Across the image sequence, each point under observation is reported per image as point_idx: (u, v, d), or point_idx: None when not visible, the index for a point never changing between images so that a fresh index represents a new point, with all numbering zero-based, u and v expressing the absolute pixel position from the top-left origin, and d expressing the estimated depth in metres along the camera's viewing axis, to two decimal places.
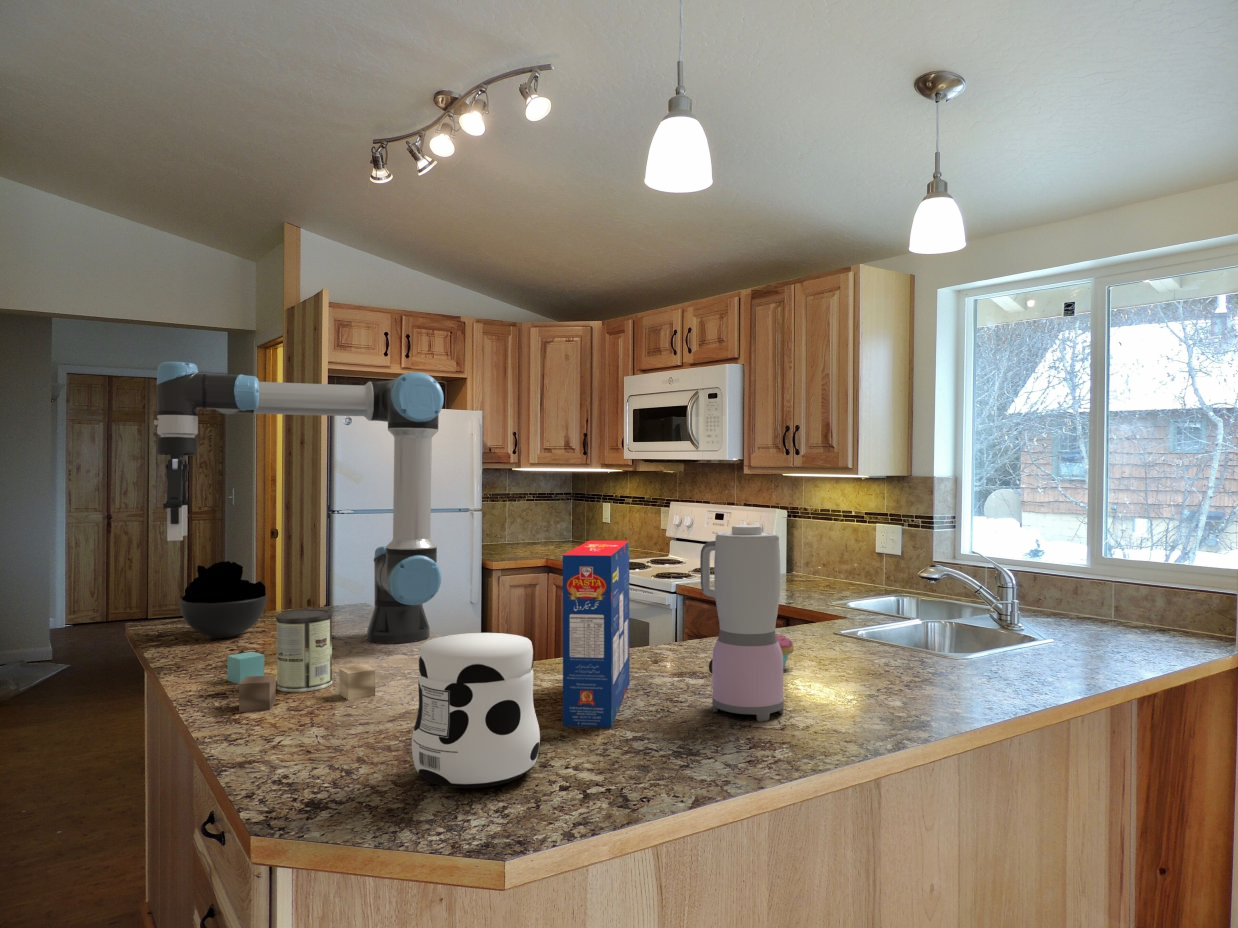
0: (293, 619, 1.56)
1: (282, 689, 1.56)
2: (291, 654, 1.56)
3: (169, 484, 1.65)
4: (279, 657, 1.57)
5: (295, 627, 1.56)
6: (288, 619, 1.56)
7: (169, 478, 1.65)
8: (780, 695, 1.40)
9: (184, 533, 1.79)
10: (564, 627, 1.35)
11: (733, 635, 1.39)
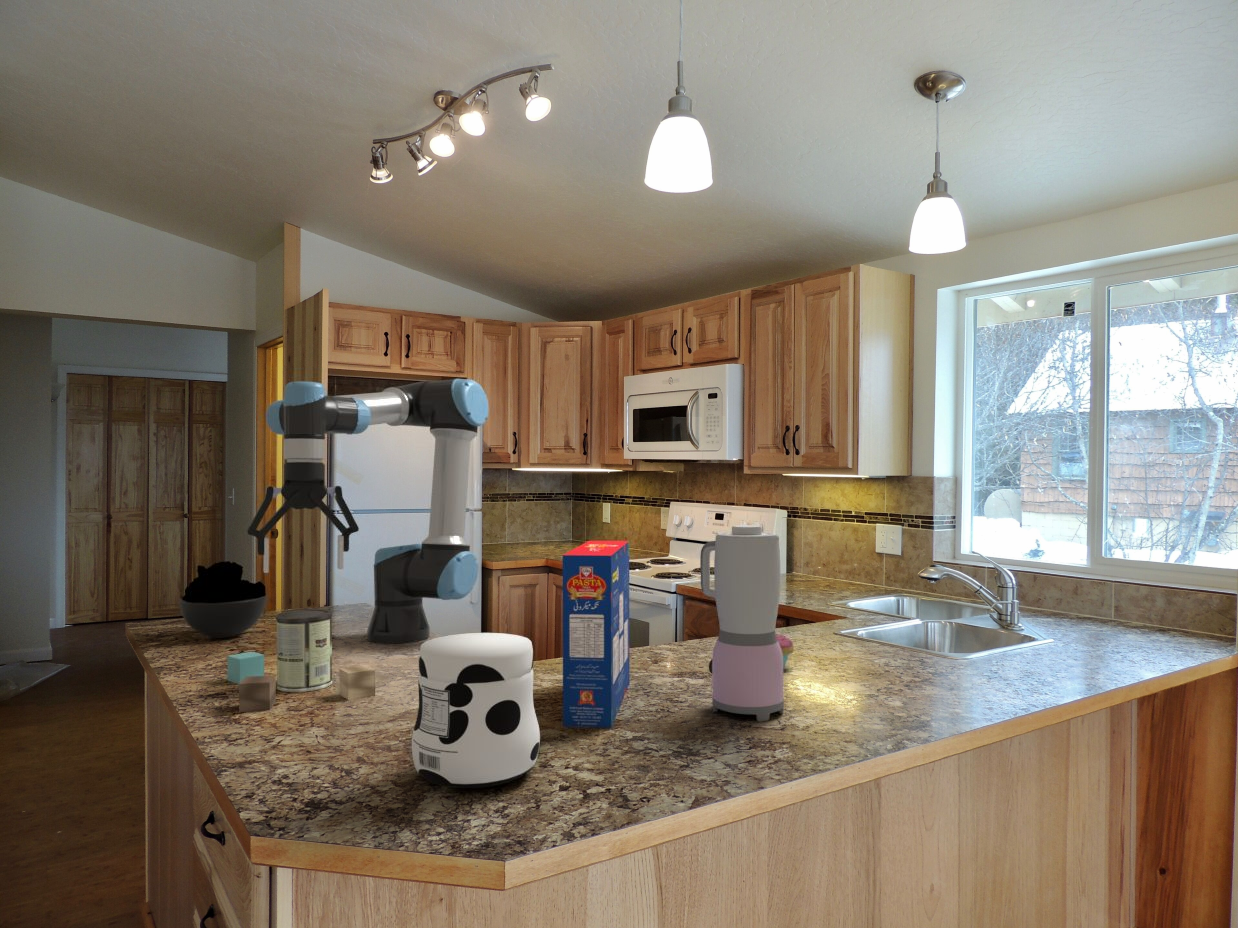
0: (293, 619, 1.56)
1: (282, 689, 1.56)
2: (291, 654, 1.56)
3: None
4: (279, 657, 1.57)
5: (295, 627, 1.56)
6: (288, 619, 1.56)
7: (260, 506, 1.58)
8: (780, 695, 1.40)
9: (339, 566, 1.63)
10: (564, 627, 1.35)
11: (733, 635, 1.39)
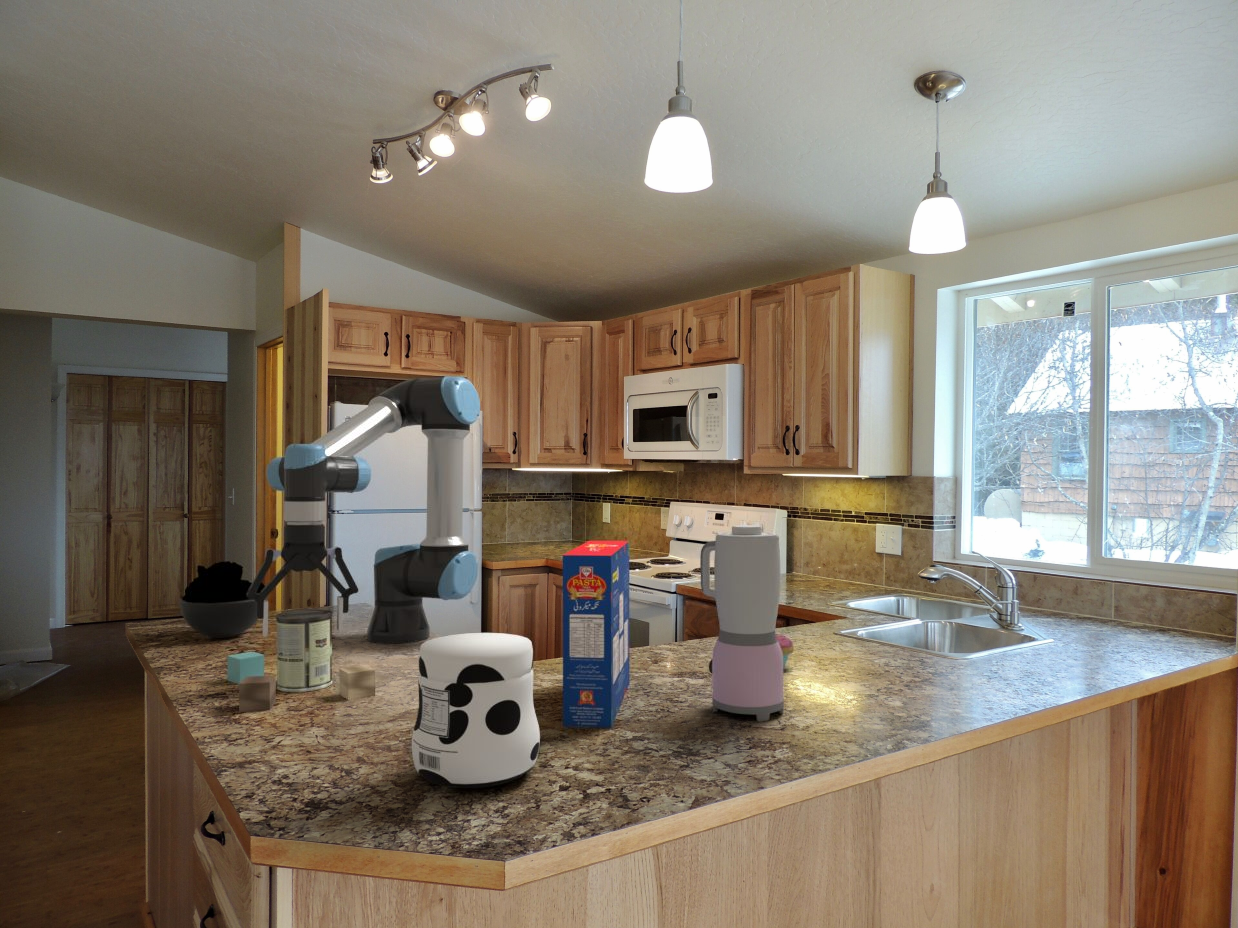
0: (293, 619, 1.56)
1: (282, 689, 1.56)
2: (291, 654, 1.56)
3: (256, 575, 1.58)
4: (279, 657, 1.57)
5: (295, 627, 1.56)
6: (288, 619, 1.56)
7: None
8: (780, 695, 1.40)
9: (338, 628, 1.63)
10: (564, 627, 1.35)
11: (733, 635, 1.39)
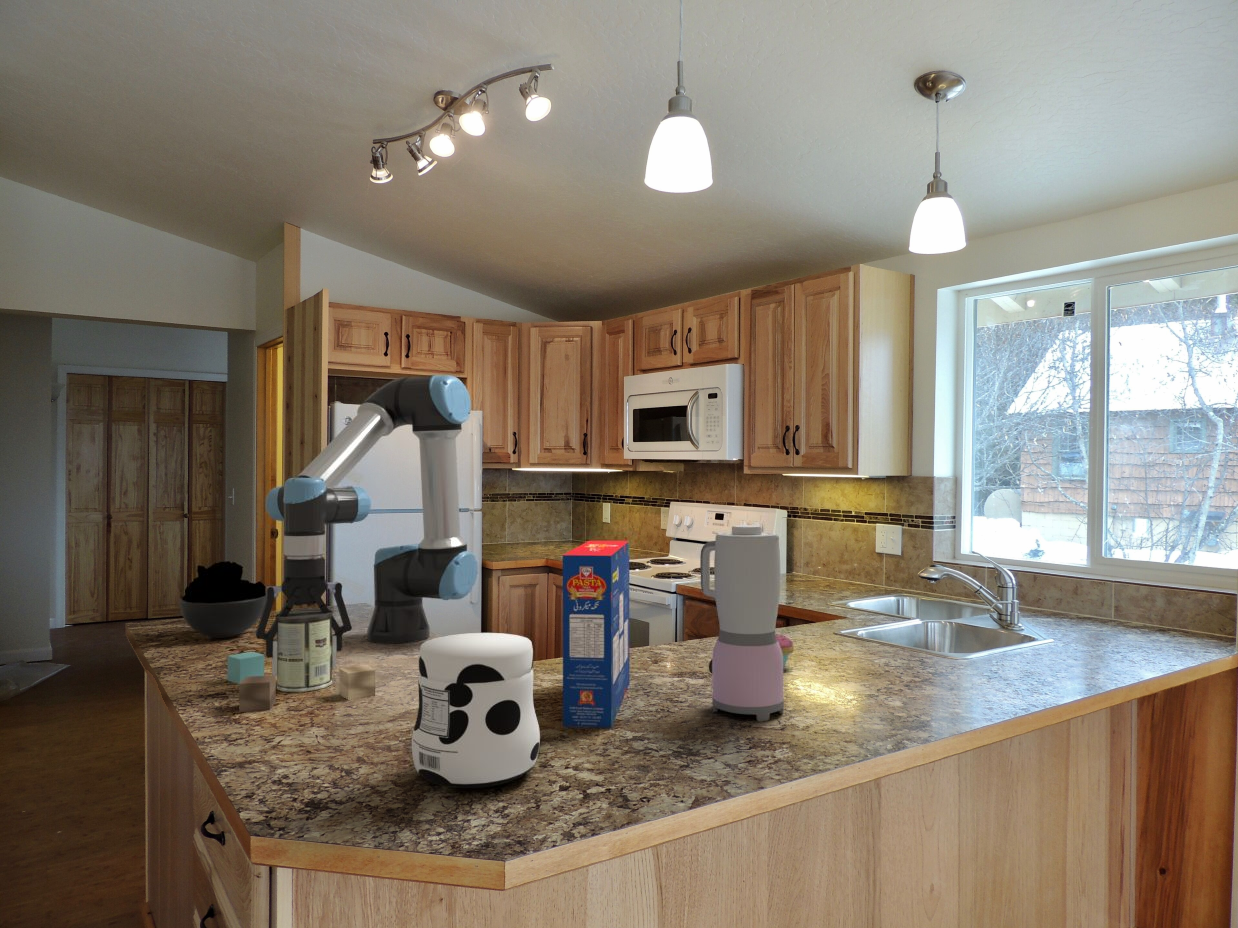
0: (293, 619, 1.56)
1: (282, 689, 1.56)
2: (291, 654, 1.56)
3: (261, 614, 1.58)
4: (279, 657, 1.57)
5: (295, 627, 1.56)
6: (288, 619, 1.56)
7: None
8: (780, 695, 1.40)
9: (332, 666, 1.62)
10: (564, 627, 1.35)
11: (733, 635, 1.39)
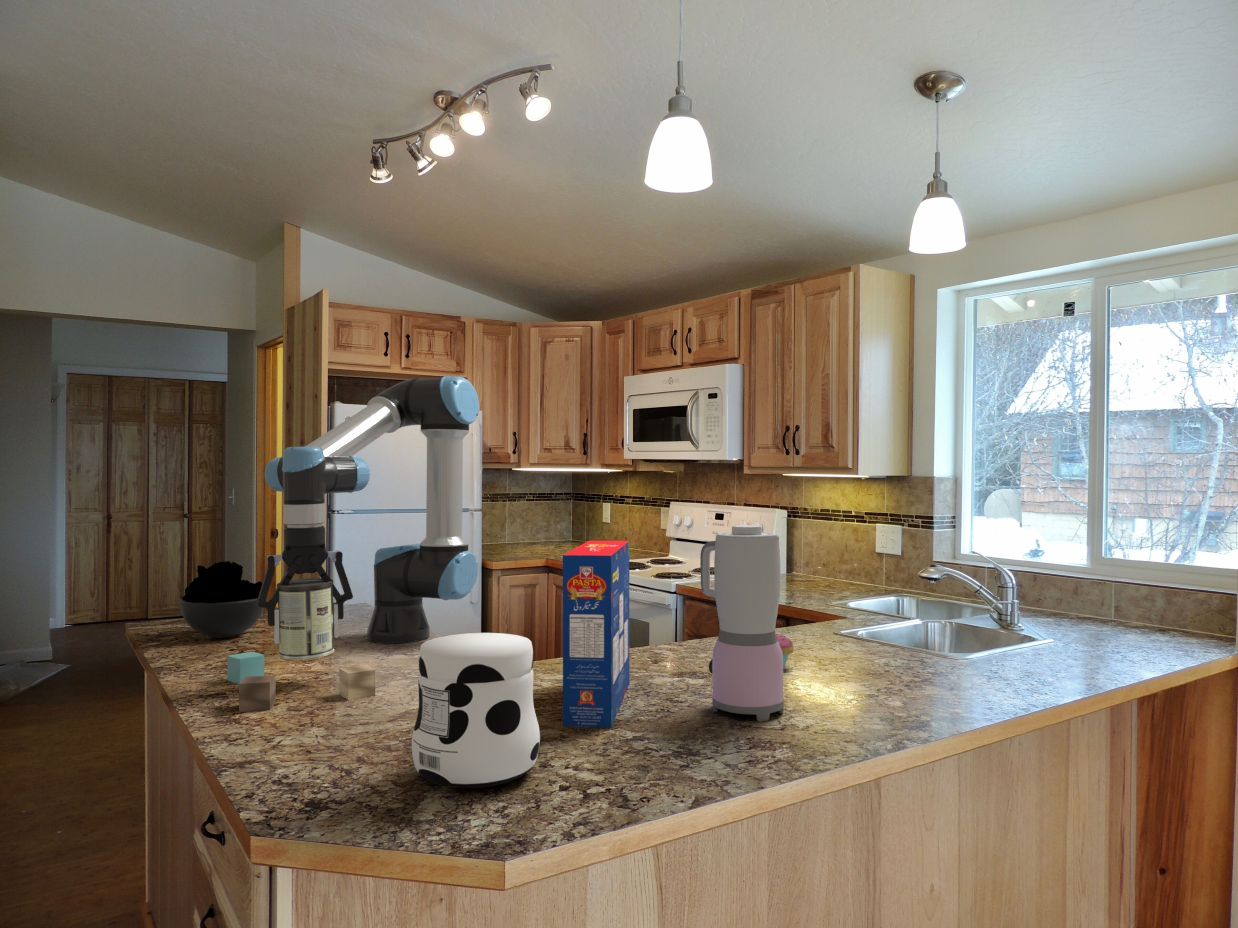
0: (294, 587, 1.56)
1: (284, 657, 1.57)
2: (293, 622, 1.56)
3: (262, 583, 1.58)
4: (281, 625, 1.58)
5: (296, 595, 1.56)
6: (289, 587, 1.56)
7: None
8: (780, 695, 1.40)
9: (334, 634, 1.63)
10: (564, 627, 1.35)
11: (733, 635, 1.39)
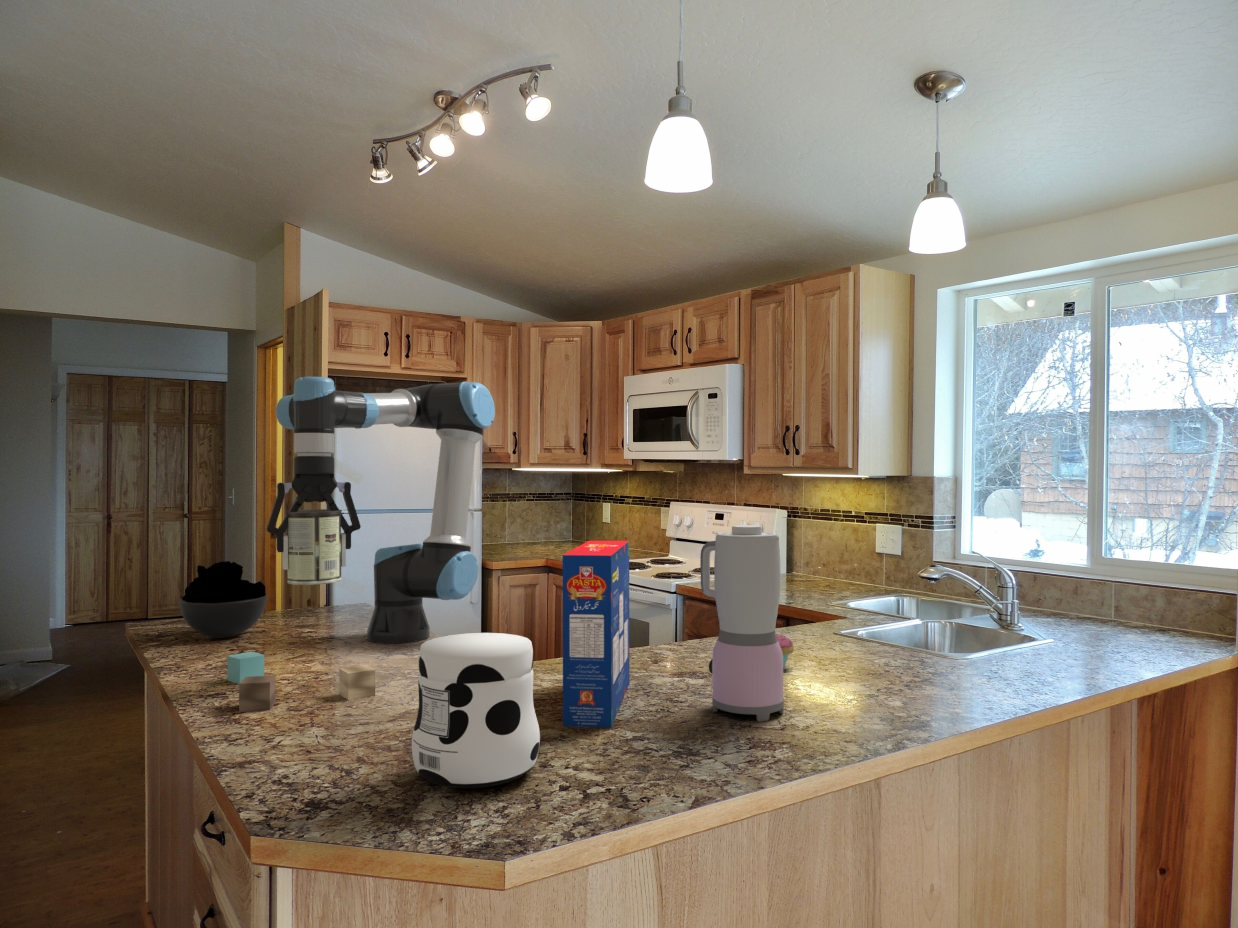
0: (303, 513, 1.58)
1: (292, 582, 1.59)
2: (301, 547, 1.59)
3: (272, 510, 1.61)
4: (289, 551, 1.60)
5: (305, 521, 1.59)
6: (298, 513, 1.59)
7: (274, 503, 1.61)
8: (780, 695, 1.40)
9: (341, 564, 1.65)
10: (564, 627, 1.35)
11: (733, 635, 1.39)
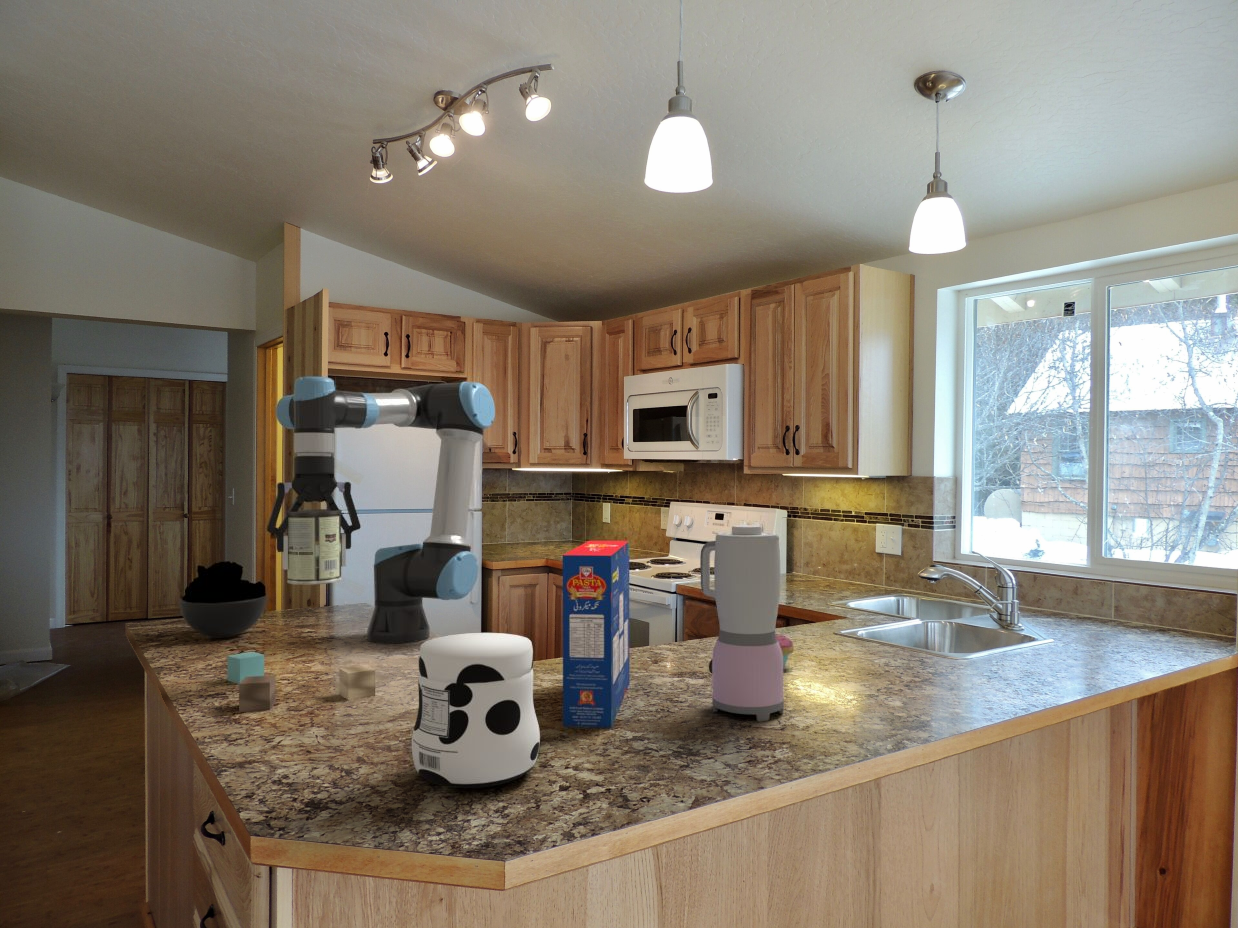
0: (303, 513, 1.58)
1: (292, 582, 1.59)
2: (301, 547, 1.59)
3: (272, 510, 1.61)
4: (289, 551, 1.60)
5: (305, 521, 1.59)
6: (298, 513, 1.59)
7: (274, 503, 1.61)
8: (780, 695, 1.40)
9: (341, 564, 1.65)
10: (564, 627, 1.35)
11: (733, 635, 1.39)
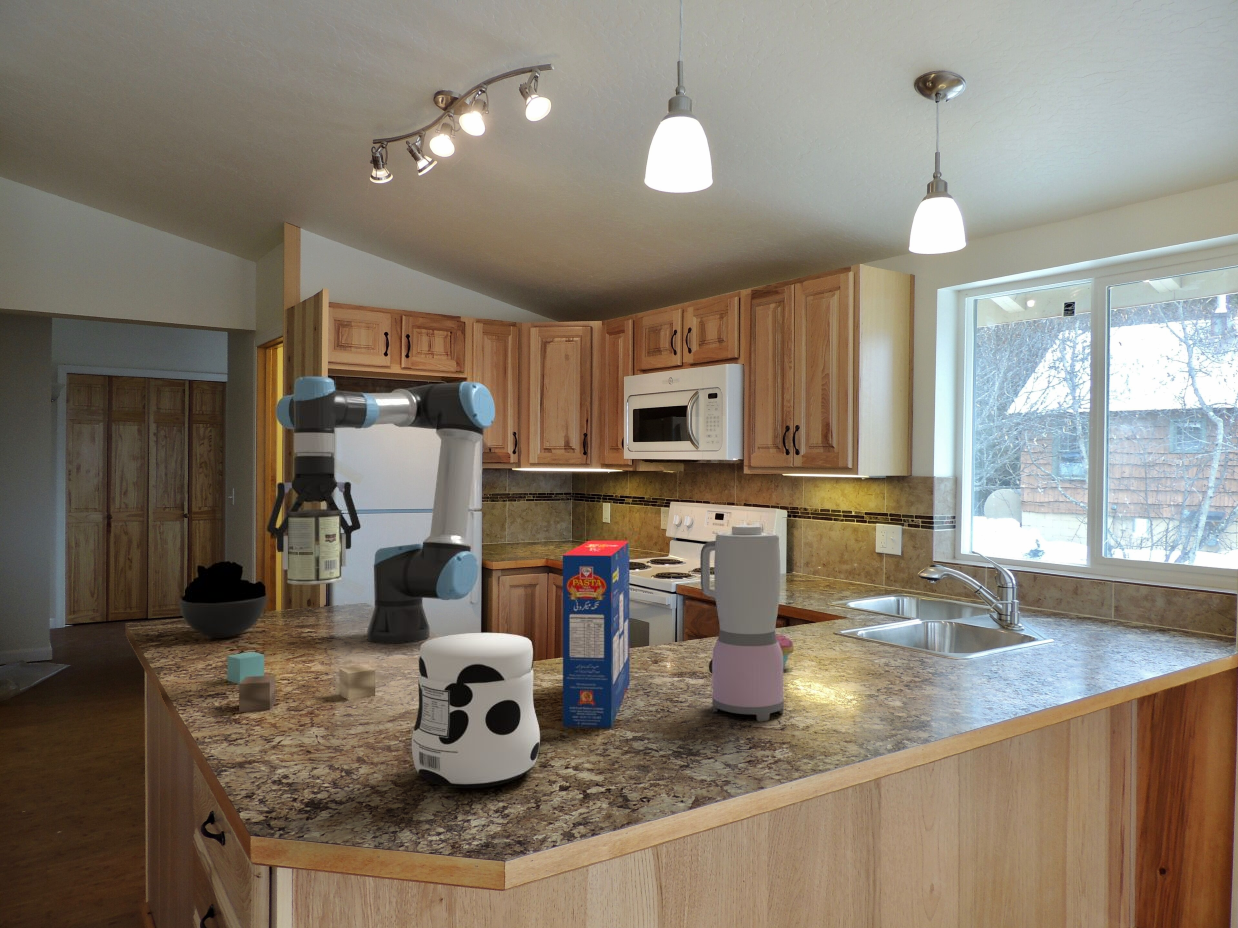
0: (303, 513, 1.58)
1: (292, 582, 1.59)
2: (301, 547, 1.59)
3: (272, 510, 1.61)
4: (289, 551, 1.60)
5: (305, 521, 1.59)
6: (298, 513, 1.59)
7: (274, 503, 1.61)
8: (780, 695, 1.40)
9: (341, 564, 1.65)
10: (564, 627, 1.35)
11: (733, 635, 1.39)
